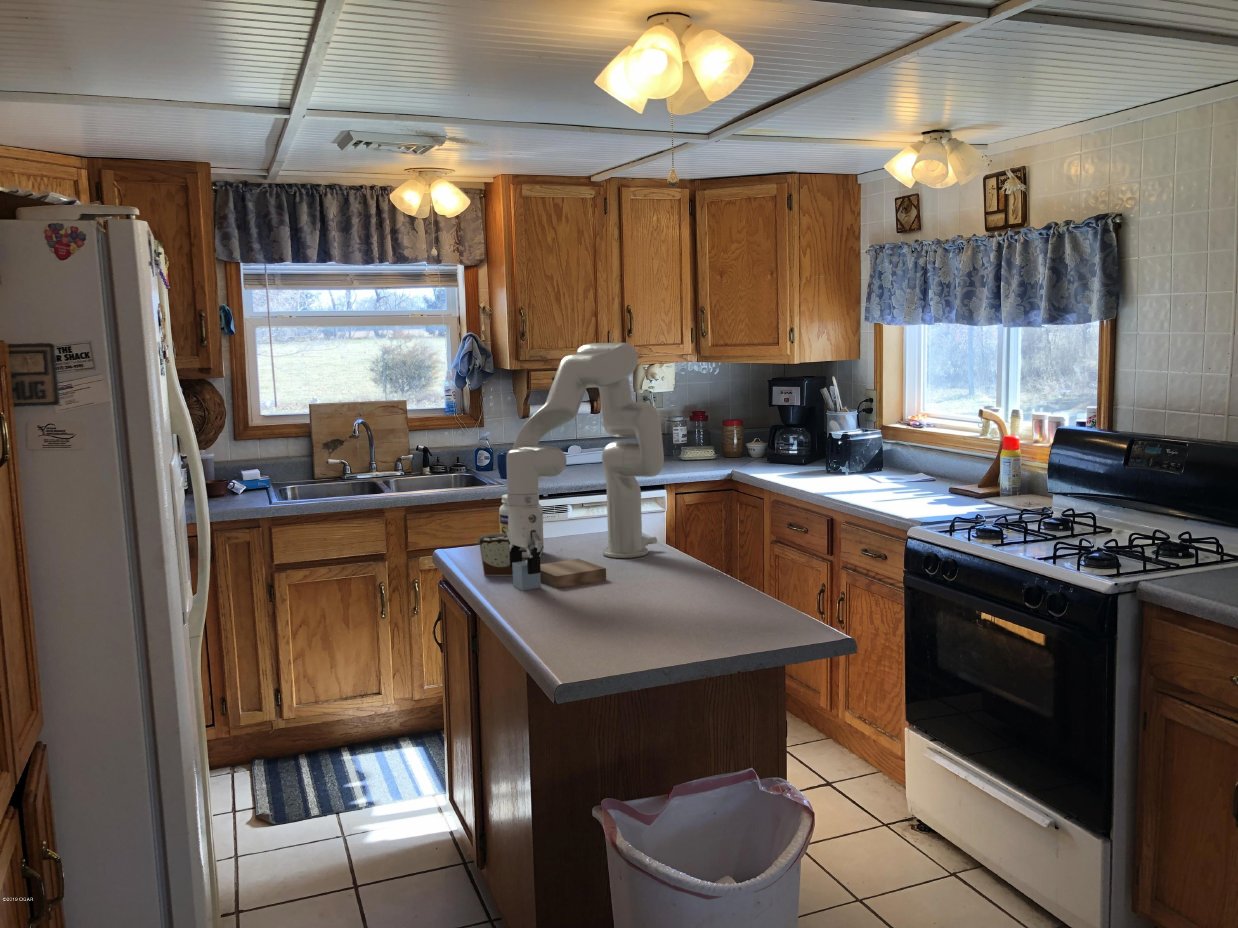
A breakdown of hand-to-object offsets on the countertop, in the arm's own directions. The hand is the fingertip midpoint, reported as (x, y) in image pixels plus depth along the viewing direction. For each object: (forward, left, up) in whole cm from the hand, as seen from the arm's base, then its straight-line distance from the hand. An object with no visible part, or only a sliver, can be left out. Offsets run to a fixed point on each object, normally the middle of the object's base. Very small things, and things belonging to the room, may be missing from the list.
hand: (524, 569), depth 241 cm
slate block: (0, 0, -4) cm, 4 cm away
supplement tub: (-16, -35, -5) cm, 39 cm away
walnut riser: (-12, -1, -4) cm, 13 cm away
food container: (-2, -17, -5) cm, 18 cm away
